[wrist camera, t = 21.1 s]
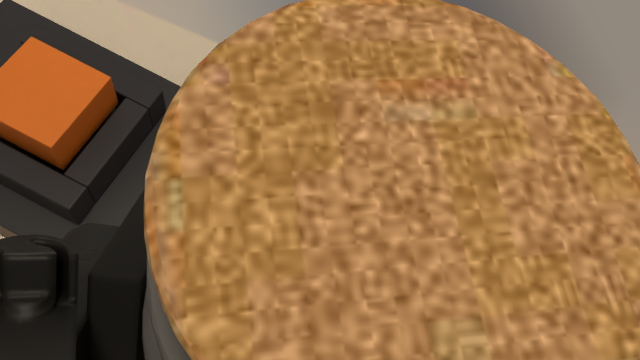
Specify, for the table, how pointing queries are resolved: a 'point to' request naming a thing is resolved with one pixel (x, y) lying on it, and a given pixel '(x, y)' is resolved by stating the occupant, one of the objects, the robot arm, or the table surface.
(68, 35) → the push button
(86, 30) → the table surface
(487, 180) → the bottle
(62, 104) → the orange square block
